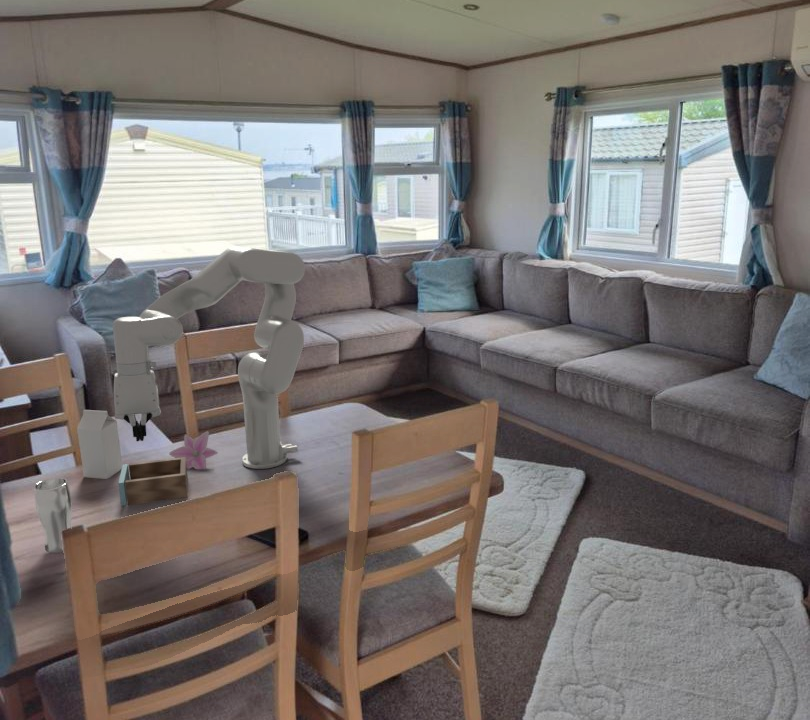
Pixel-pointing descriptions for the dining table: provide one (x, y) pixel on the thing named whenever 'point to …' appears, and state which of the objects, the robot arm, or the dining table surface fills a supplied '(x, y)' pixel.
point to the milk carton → (99, 444)
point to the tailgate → (123, 484)
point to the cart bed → (157, 481)
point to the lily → (195, 451)
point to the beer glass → (53, 510)
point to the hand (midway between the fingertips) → (140, 439)
